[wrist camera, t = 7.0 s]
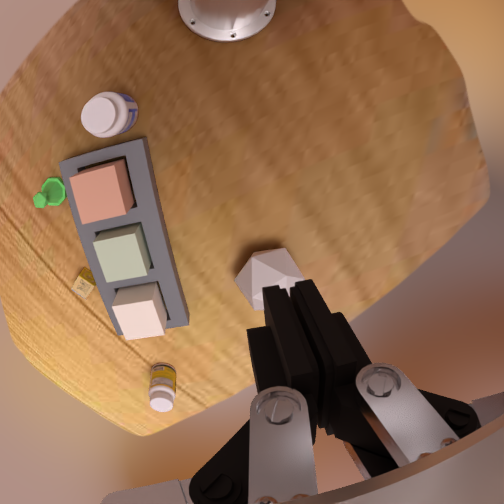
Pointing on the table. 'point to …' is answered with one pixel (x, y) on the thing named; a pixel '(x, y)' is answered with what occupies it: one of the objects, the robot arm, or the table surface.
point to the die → (267, 274)
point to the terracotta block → (102, 191)
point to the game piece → (51, 193)
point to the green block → (123, 252)
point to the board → (141, 211)
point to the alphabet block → (84, 283)
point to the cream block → (140, 311)
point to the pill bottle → (109, 114)
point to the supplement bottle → (162, 387)
